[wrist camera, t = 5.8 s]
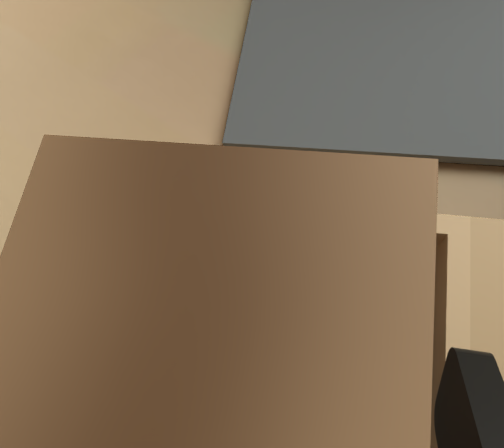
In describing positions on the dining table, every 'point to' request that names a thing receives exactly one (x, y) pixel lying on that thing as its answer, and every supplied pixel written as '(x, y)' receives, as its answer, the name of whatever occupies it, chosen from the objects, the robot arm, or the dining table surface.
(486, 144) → the rubber mat
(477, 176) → the dining table surface
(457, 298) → the light wood hollow frame
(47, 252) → the walnut box
